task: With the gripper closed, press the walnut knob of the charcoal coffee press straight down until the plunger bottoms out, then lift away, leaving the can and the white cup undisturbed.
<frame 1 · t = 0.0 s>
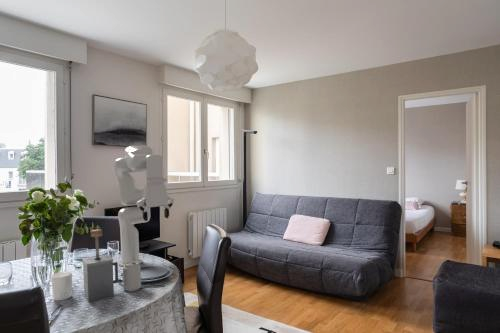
hand: (156, 219, 152), 31 cm above the table, tool pointing down, fingers open, 9 cm apart
white cup: (62, 297, 144), on the table
press carafe: (99, 295, 145), on the table
can: (132, 289, 151), on the table
plunger: (97, 247, 144), point 21 cm above the table, slide at 7.0 cm
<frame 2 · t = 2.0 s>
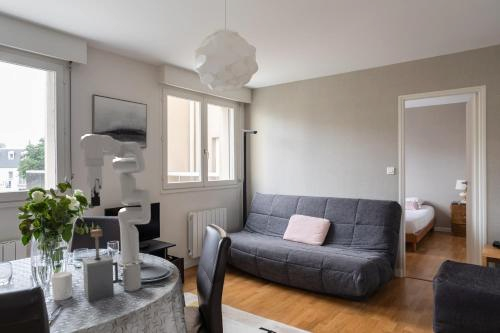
hand: (95, 205, 144), 39 cm above the table, tool pointing down, fingers closed
nothing on the table moved.
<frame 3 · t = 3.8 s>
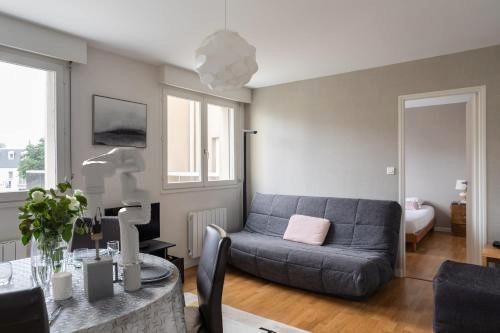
hand: (96, 233, 144), 27 cm above the table, tool pointing down, fingers closed
plunger: (97, 249, 144), point 20 cm above the table, slide at 5.8 cm, touching gripper
everything else where it was.
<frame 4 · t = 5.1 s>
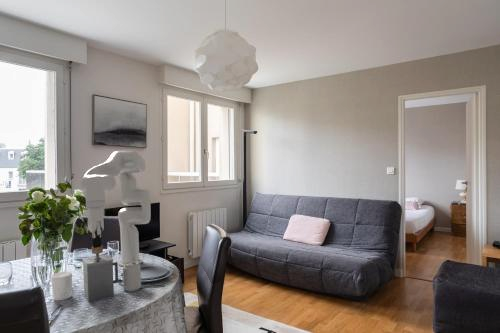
hand: (97, 246, 144), 21 cm above the table, tool pointing down, fingers closed
plunger: (97, 263, 144), point 14 cm above the table, slide at -0.1 cm, touching gripper
everything else where it was.
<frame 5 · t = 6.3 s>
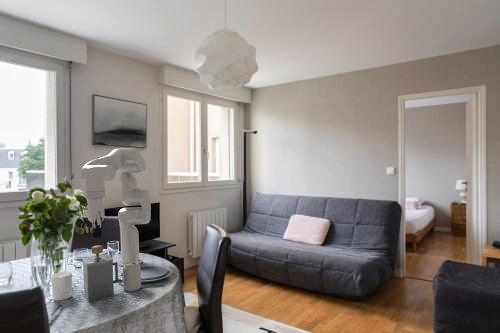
hand: (97, 236, 145), 25 cm above the table, tool pointing down, fingers closed
plunger: (97, 263, 144), point 14 cm above the table, slide at -0.1 cm
everything else where it was.
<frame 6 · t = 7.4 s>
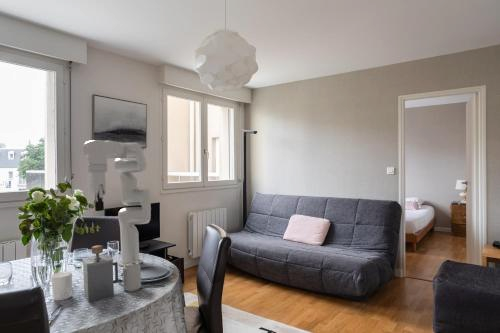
hand: (99, 210, 146), 37 cm above the table, tool pointing down, fingers closed
nothing on the table moved.
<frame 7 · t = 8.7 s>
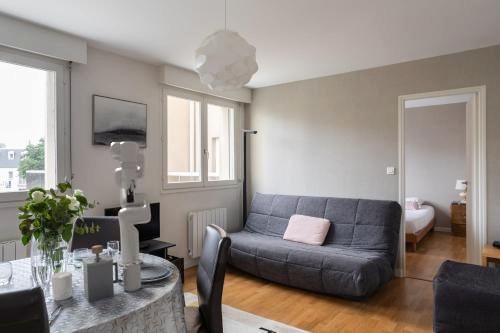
hand: (130, 202, 168), 37 cm above the table, tool pointing down, fingers closed
nothing on the table moved.
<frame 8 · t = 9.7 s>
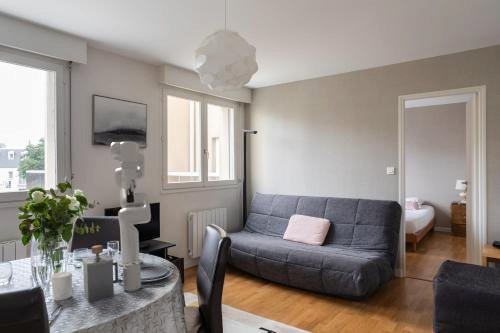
hand: (130, 202, 168), 37 cm above the table, tool pointing down, fingers closed
nothing on the table moved.
at the end: plunger slide at -0.1 cm; can moved 0.2 cm from its start; white cup moved 0.2 cm from its start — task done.
